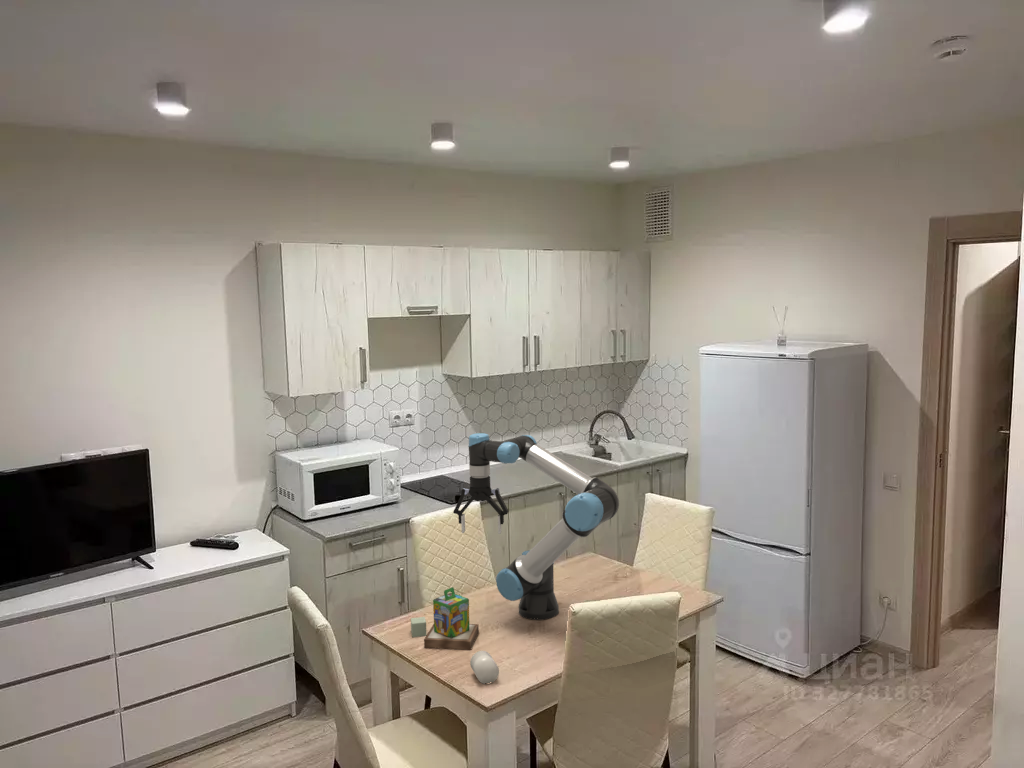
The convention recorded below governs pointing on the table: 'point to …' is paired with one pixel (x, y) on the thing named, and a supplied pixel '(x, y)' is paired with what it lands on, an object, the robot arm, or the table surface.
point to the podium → (452, 639)
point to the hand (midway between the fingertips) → (481, 532)
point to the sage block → (418, 627)
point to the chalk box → (451, 614)
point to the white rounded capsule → (484, 667)
